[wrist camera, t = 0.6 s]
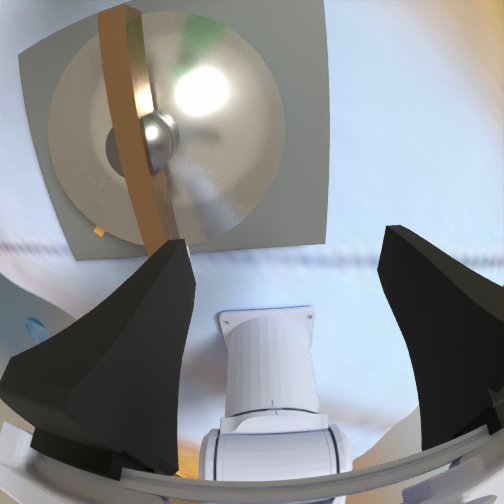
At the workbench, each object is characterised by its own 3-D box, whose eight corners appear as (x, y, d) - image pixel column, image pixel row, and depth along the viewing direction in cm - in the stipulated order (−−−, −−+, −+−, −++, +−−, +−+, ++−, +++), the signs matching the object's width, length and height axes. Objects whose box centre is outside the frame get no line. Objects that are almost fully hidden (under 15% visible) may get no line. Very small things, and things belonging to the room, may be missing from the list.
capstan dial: (286, 228, 17) (294, 271, 14) (92, 244, 18) (67, 281, 14) (273, 0, 10) (281, -24, 6) (44, 59, 10) (-1, 66, 7)
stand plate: (320, 233, 19) (325, 248, 18) (85, 251, 20) (75, 264, 19) (314, -14, 10) (321, -22, 9) (31, 52, 11) (16, 54, 9)
